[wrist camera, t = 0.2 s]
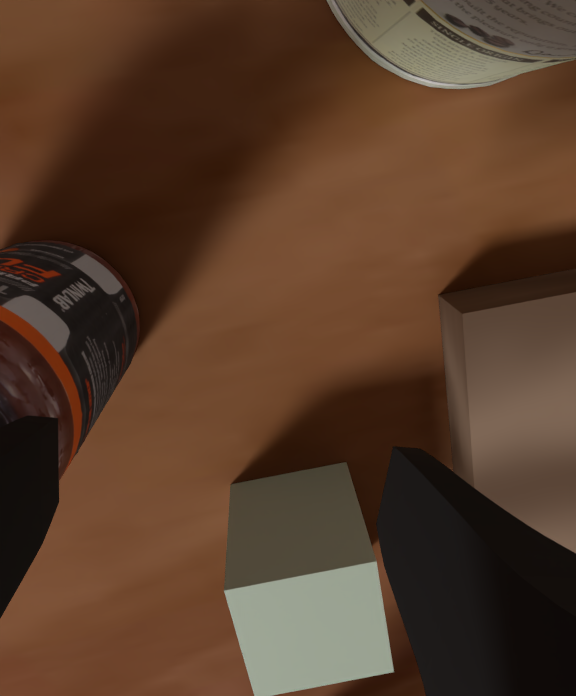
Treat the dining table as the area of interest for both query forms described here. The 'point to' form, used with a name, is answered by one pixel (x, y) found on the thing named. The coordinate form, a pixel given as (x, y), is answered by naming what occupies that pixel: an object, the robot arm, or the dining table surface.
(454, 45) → the coffee can
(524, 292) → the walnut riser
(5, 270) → the supplement bottle
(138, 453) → the dining table surface
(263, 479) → the sage block
